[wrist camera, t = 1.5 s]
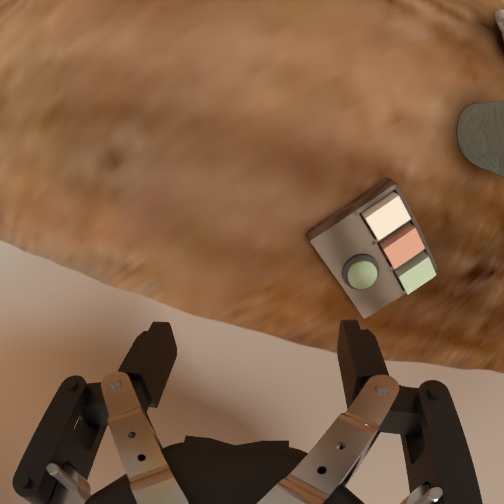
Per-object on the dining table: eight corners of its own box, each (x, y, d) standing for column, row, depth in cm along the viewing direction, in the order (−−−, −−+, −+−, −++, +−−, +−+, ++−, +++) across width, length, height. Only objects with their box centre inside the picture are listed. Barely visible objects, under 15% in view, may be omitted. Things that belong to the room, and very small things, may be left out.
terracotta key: (407, 220, 33) (415, 227, 31) (417, 240, 34) (425, 248, 31) (377, 241, 34) (383, 249, 32) (388, 260, 35) (394, 269, 33)
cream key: (391, 190, 31) (398, 195, 29) (403, 212, 32) (410, 218, 30) (359, 211, 33) (365, 218, 31) (372, 232, 34) (378, 240, 32)
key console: (387, 177, 33) (400, 185, 29) (429, 260, 37) (442, 275, 33) (307, 231, 37) (310, 245, 33) (359, 306, 41) (366, 324, 37)
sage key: (421, 248, 34) (428, 256, 32) (429, 266, 35) (436, 275, 33) (392, 267, 35) (398, 276, 33) (401, 284, 36) (407, 294, 34)
